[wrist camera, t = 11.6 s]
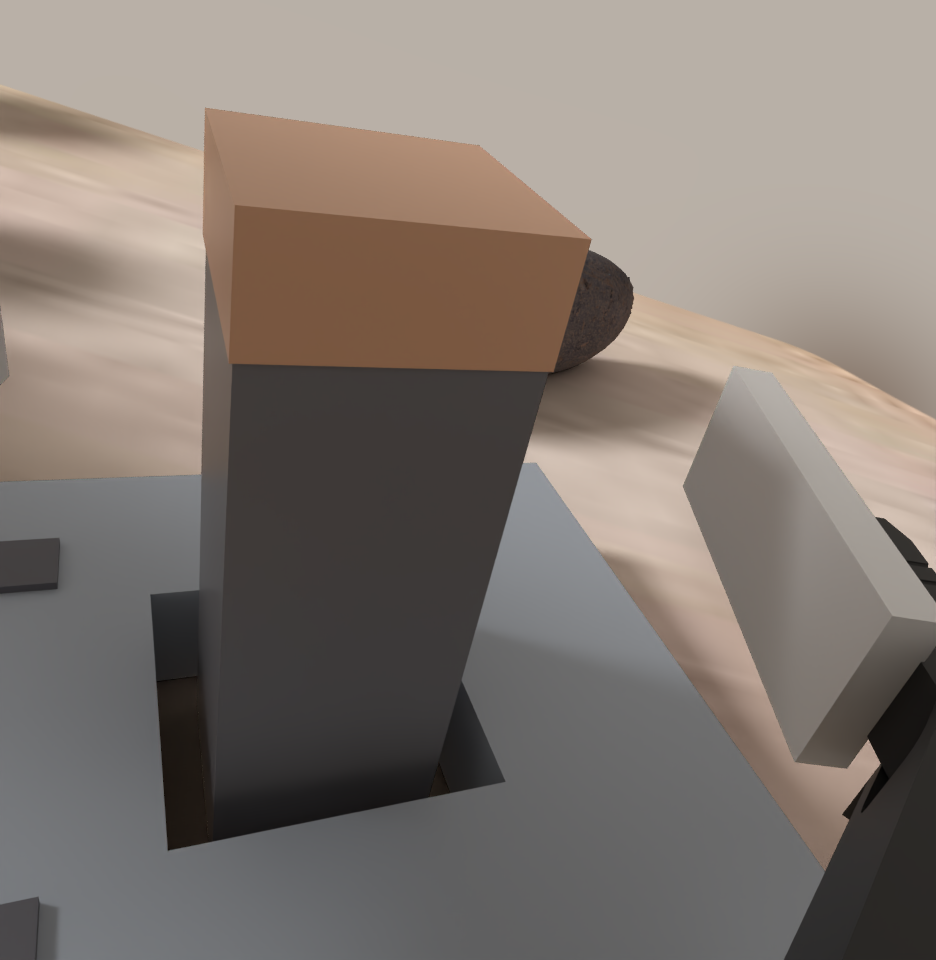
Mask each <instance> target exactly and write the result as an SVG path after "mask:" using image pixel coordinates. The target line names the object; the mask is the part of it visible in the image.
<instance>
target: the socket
mask: <svg viewBox="0 0 936 960" xmlns="http://www.w3.org/2000/svg"><path fill="white" fill-rule="evenodd" d="M200 523H201V475H178V476H149V477H121V478H93V479H65V480H36V481H8V482H0V960H784V958H785V956H786V954H787V952H788V950H789V948H790V945H791V943H792V941H793V939H794V937H795V935H796V933H797V930H798V928H799V926H800V924H801V922H802V920H803V918H804V916H805V913H806V911H807V909H808V907H809V905H810V903H811V901H812V899H813V896H814V894H815V892H816V890H817V888H818V886H819V884H820V882H821V879H822V877H823V875H824V873H825V871H824V869H823V868H822V866H821V865H820V864H819V862H818V861H817V859H816V858H815V857H814V855H813V854H812V852H811V851H810V849H809V848H808V847H807V845H806V844H805V842H804V841H803V840H802V838H801V837H800V835H799V834H798V833H797V831H796V830H795V828H794V827H793V825H792V824H791V823H790V821H789V820H788V818H787V817H786V816H785V814H784V813H783V811H782V810H781V808H780V807H779V806H778V804H777V803H776V801H775V800H774V799H773V797H772V796H771V794H770V793H769V792H768V790H767V789H766V787H765V786H764V784H763V783H762V782H761V780H760V779H759V777H758V776H757V775H756V773H755V772H754V770H753V769H752V767H751V766H750V765H749V763H748V762H747V760H746V759H745V758H744V756H743V755H742V753H741V752H740V750H739V749H738V748H737V746H736V745H735V743H734V742H733V741H732V739H731V738H730V736H729V735H728V734H727V732H726V731H725V729H724V728H723V726H722V725H721V724H720V722H719V721H718V719H717V718H716V717H715V715H714V714H713V712H712V711H711V709H710V708H709V707H708V705H707V704H706V702H705V701H704V700H703V698H702V697H701V695H700V694H699V693H698V691H697V690H696V688H695V687H694V685H693V684H692V683H691V681H690V680H689V678H688V677H687V676H686V674H685V673H684V671H683V670H682V668H681V667H680V666H679V664H678V663H677V661H676V660H675V659H674V657H673V656H672V654H671V653H670V651H669V650H668V649H667V647H666V646H665V644H664V643H663V642H662V640H661V639H660V637H659V636H658V635H657V633H656V632H655V630H654V629H653V627H652V626H651V625H650V623H649V622H648V620H647V619H646V618H645V616H644V615H643V613H642V612H641V610H640V609H639V608H638V606H637V605H636V603H635V602H634V601H633V599H632V598H631V596H630V595H629V594H628V592H627V591H626V589H625V588H624V586H623V585H622V584H621V582H620V581H619V579H618V578H617V577H616V575H615V574H614V572H613V571H612V569H611V568H610V567H609V565H608V564H607V562H606V561H605V560H604V558H603V557H602V555H601V554H600V552H599V551H598V550H597V548H596V547H595V545H594V544H593V543H592V541H591V540H590V538H589V537H588V536H587V534H586V533H585V531H584V530H583V528H582V527H581V526H580V524H579V523H578V521H577V520H576V519H575V517H574V516H573V514H572V513H571V511H570V510H569V509H568V507H567V506H566V504H565V503H564V502H563V500H562V499H561V497H560V496H559V495H558V493H557V492H556V490H555V489H554V487H553V486H552V485H551V483H550V482H549V480H548V479H547V478H546V476H545V475H544V473H543V472H542V470H541V469H540V468H539V466H538V465H537V463H523V465H522V468H521V472H520V475H519V479H518V482H517V486H516V489H515V493H514V496H513V500H512V503H511V507H510V510H509V514H508V518H507V521H506V525H505V528H504V532H503V535H502V539H501V542H500V546H499V549H498V553H497V556H496V560H495V564H494V567H493V571H492V574H491V578H490V581H489V585H488V588H487V592H486V595H485V599H484V602H483V606H482V609H481V613H480V617H479V620H478V624H477V627H476V631H475V634H474V638H473V641H472V645H471V648H470V652H469V655H468V659H467V662H466V666H465V670H464V673H463V677H462V680H461V684H460V687H459V691H458V694H457V698H456V701H455V705H454V708H453V712H452V715H451V719H450V723H449V726H448V730H447V733H446V737H445V740H444V744H443V747H442V751H441V754H440V758H439V764H440V766H441V769H442V772H443V774H444V777H445V780H446V783H447V785H448V788H449V791H450V793H449V794H444V795H439V796H434V797H429V798H425V799H420V800H415V801H410V802H405V803H400V804H395V805H390V806H385V807H380V808H375V809H371V810H366V811H361V812H356V813H351V814H346V815H341V816H336V817H331V818H326V819H321V820H317V821H312V822H307V823H302V824H297V825H292V826H287V827H282V828H277V829H272V830H267V831H263V832H258V833H253V834H248V835H243V836H238V837H233V838H228V839H223V840H218V841H213V842H209V843H204V844H199V845H194V846H189V847H184V848H179V849H174V850H169V851H168V848H167V833H166V819H165V804H164V789H163V774H162V759H161V744H160V730H159V715H158V700H157V685H156V681H161V680H169V679H177V678H185V677H193V676H198V625H199V574H200Z"/></svg>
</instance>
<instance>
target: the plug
mask: <svg viewBox="0 0 936 960" xmlns="http://www.w3.org/2000/svg"><path fill="white" fill-rule="evenodd" d="M204 137H205V138H204V193H203V238H204V243H205V248H206V267H205V318H204V370H203V421H202V472H201V523H200V574H199V625H198V677H197V713H198V726H199V738H200V750H201V762H202V774H203V786H204V798H205V810H206V822H207V834H208V843H209V842H213V841H218V840H223V839H228V838H233V837H238V836H243V835H248V834H253V833H258V832H263V831H267V830H272V829H277V828H282V827H287V826H292V825H297V824H302V823H307V822H312V821H317V820H321V819H326V818H331V817H336V816H341V815H346V814H351V813H356V812H361V811H366V810H371V809H375V808H380V807H385V806H390V805H395V804H400V803H405V802H410V801H415V800H420V799H425V798H428V797H429V793H430V790H431V786H432V783H433V779H434V776H435V772H436V769H437V765H438V761H439V758H440V754H441V751H442V747H443V744H444V740H445V737H446V733H447V730H448V726H449V723H450V719H451V715H452V712H453V708H454V705H455V701H456V698H457V694H458V691H459V687H460V684H461V680H462V677H463V673H464V670H465V666H466V662H467V659H468V655H469V652H470V648H471V645H472V641H473V638H474V634H475V631H476V627H477V624H478V620H479V617H480V613H481V609H482V606H483V602H484V599H485V595H486V592H487V588H488V585H489V581H490V578H491V574H492V571H493V567H494V564H495V560H496V556H497V553H498V549H499V546H500V542H501V539H502V535H503V532H504V528H505V525H506V521H507V518H508V514H509V510H510V507H511V503H512V500H513V496H514V493H515V489H516V486H517V482H518V479H519V475H520V472H521V468H522V465H523V461H524V457H525V454H526V450H527V447H528V443H529V440H530V436H531V433H532V429H533V426H534V422H535V419H536V415H537V412H538V408H539V404H540V401H541V397H542V394H543V390H544V387H545V383H546V380H547V376H548V373H549V372H554V369H555V365H556V362H557V358H558V355H559V351H560V348H561V344H562V341H563V337H564V334H565V330H566V327H567V323H568V320H569V316H570V313H571V309H572V306H573V302H574V299H575V295H576V292H577V288H578V285H579V281H580V278H581V274H582V271H583V267H584V264H585V260H586V257H587V253H588V250H589V246H590V243H591V238H589V237H588V236H587V235H586V234H585V233H583V232H582V231H581V230H580V229H579V228H577V227H576V226H575V225H574V224H573V223H571V222H570V221H569V220H568V219H566V218H565V217H564V216H563V215H562V214H561V213H559V212H558V211H557V210H556V209H555V208H553V207H552V206H551V205H550V204H549V203H547V202H546V201H545V200H544V199H543V198H541V197H540V196H539V195H538V194H536V193H535V192H534V191H533V190H532V189H531V188H529V187H528V186H527V185H526V184H525V183H523V182H522V181H521V180H520V179H519V178H517V177H516V176H515V175H514V174H513V173H511V172H510V171H509V170H508V169H507V168H505V167H504V166H503V165H502V164H501V163H499V162H498V161H497V160H496V159H495V158H493V157H492V156H491V155H490V154H489V153H487V152H486V151H485V150H484V149H483V148H481V147H480V146H479V145H472V144H464V143H457V142H449V141H443V140H435V139H428V138H420V137H414V136H406V135H399V134H391V133H385V132H377V131H370V130H362V129H355V128H348V127H341V126H334V125H326V124H319V123H312V122H304V121H297V120H290V119H283V118H275V117H268V116H261V115H254V114H246V113H238V112H232V111H225V110H217V109H210V108H205V136H204Z"/></svg>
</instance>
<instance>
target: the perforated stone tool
mask: <svg viewBox="0 0 936 960" xmlns="http://www.w3.org/2000/svg"><path fill="white" fill-rule="evenodd" d="M633 299H634V296H633V286H632V284H631V282H630V279H629V277H627V276H626V274H625V273H624V272H623V271H622V270H621V269H620V268H619V267H617V266H616V265H615V264H614V263H612V262H611V261H610V260H608V259H607V258H605V257H603V256H601V255H599V254H597V253H595V252H592V251H589V250H588V253H587V257H586V260H585V264H584V267H583V271H582V274H581V278H580V281H579V285H578V288H577V292H576V295H575V299H574V302H573V306H572V309H571V313H570V316H569V320H568V323H567V327H566V330H565V334H564V337H563V341H562V344H561V348H560V351H559V355H558V358H557V362H556V365H555V369H554V372H559V371H562V370H565V369H568V368H571V367H574V366H576V365H579V364H581V363H583V362H585V361H587V360H588V359H590V358H592V357H593V356H595V355H596V354H598V353H599V352H601V351H602V350H604V349H605V348H606V347H607V346H608V345H609V344H610V343H611V342H613V341H614V340H615V339H616V337H617V336H618V335H619V334H620V332H621V331H622V329H623V328H624V326H625V324H626V323H627V321H628V318H629V316H630V314H631V309H632V305H633ZM554 372H549V373H554ZM549 373H548V374H549Z"/></svg>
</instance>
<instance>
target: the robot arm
mask: <svg viewBox="0 0 936 960" xmlns="http://www.w3.org/2000/svg"><path fill="white" fill-rule="evenodd" d="M8 377H9V370H8V362H7V354H6V347H5V339H4V331H3V324H2V316H1V308H0V385H1V384H2V383H3V382H4V381H5V380H6V379H7V378H8ZM683 488H684V490H685V493H686V495H687V498H688V500H689V502H690V505H691V507H692V510H693V512H694V515H695V517H696V520H697V522H698V525H699V527H700V530H701V532H702V535H703V537H704V539H705V542H706V544H707V547H708V549H709V552H710V554H711V557H712V559H713V562H714V564H715V567H716V569H717V572H718V574H719V576H720V579H721V581H722V584H723V586H724V589H725V591H726V594H727V596H728V599H729V601H730V604H731V606H732V609H733V611H734V613H735V616H736V618H737V621H738V623H739V626H740V628H741V631H742V633H743V636H744V638H745V641H746V643H747V646H748V648H749V650H750V653H751V655H752V658H753V660H754V663H755V665H756V668H757V670H758V673H759V675H760V678H761V680H762V683H763V685H764V687H765V690H766V692H767V695H768V697H769V700H770V702H771V705H772V707H773V710H774V712H775V715H776V717H777V720H778V722H779V724H780V727H781V729H782V732H783V734H784V737H785V739H786V742H787V744H788V747H789V749H790V752H791V754H792V757H793V759H794V761H795V762H798V763H806V764H814V765H822V766H830V767H838V768H846V769H847V768H848V766H849V765H850V764H851V762H852V761H853V759H854V758H855V757H856V755H857V754H858V753H859V751H860V750H861V748H862V747H863V746H864V744H865V743H866V742H867V740H868V739H869V741H870V743H871V745H872V747H873V749H874V751H875V753H876V755H877V757H878V759H879V761H880V763H881V764H880V766H879V767H878V768H877V770H876V771H875V772H874V774H873V775H872V776H871V777H870V779H869V780H868V781H867V783H866V784H865V785H864V787H863V788H862V789H861V791H860V792H859V793H858V795H857V796H856V797H855V798H854V800H853V801H852V802H851V804H850V805H849V806H848V808H847V809H846V810H845V812H844V813H843V814H842V815H844V816H845V817H846V818H848V819H849V822H848V824H847V826H846V828H845V831H844V833H843V835H842V837H841V839H840V841H839V843H838V845H837V848H836V850H835V852H834V854H833V856H832V858H831V860H830V862H829V865H828V867H827V869H826V871H825V873H824V875H823V877H822V879H821V882H820V884H819V886H818V888H817V890H816V892H815V894H814V896H813V899H812V901H811V903H810V905H809V907H808V909H807V911H806V913H805V916H804V918H803V920H802V922H801V924H800V926H799V928H798V930H797V933H796V935H795V937H794V939H793V941H792V943H791V945H790V948H789V950H788V952H787V954H786V956H785V958H784V960H936V573H935V572H934V570H933V569H932V568H928V562H927V561H926V560H925V558H924V557H923V556H922V554H921V553H920V552H919V550H918V549H917V548H916V546H915V545H914V544H913V542H912V541H911V540H910V539H909V538H907V537H906V536H905V535H904V534H903V533H901V532H900V531H899V530H898V529H896V528H895V527H894V526H893V525H892V524H890V523H889V522H888V521H887V520H886V519H884V518H878V517H875V516H874V515H873V514H872V512H871V511H870V509H869V508H868V507H867V505H866V504H865V502H864V501H863V500H862V498H861V497H860V495H859V494H858V493H857V491H856V490H855V488H854V487H853V486H852V484H851V483H850V481H849V480H848V479H847V477H846V476H845V474H844V473H843V472H842V470H841V469H840V467H839V466H838V465H837V463H836V462H835V460H834V459H833V458H832V456H831V455H830V453H829V452H828V451H827V449H826V448H825V446H824V445H823V443H822V442H821V441H820V439H819V438H818V436H817V435H816V434H815V432H814V431H813V429H812V428H811V427H810V425H809V424H808V422H807V421H806V420H805V418H804V417H803V415H802V414H801V413H800V411H799V410H798V408H797V407H796V406H795V404H794V403H793V401H792V400H791V399H790V397H789V396H788V394H787V393H786V392H785V390H784V389H783V387H782V386H781V385H780V383H779V382H778V380H777V379H776V378H775V376H774V375H773V373H770V372H765V371H759V370H754V369H748V368H743V367H738V366H733V368H732V370H731V373H730V375H729V378H728V380H727V382H726V385H725V387H724V390H723V392H722V394H721V397H720V399H719V401H718V404H717V406H716V409H715V411H714V413H713V416H712V418H711V420H710V423H709V425H708V428H707V430H706V432H705V435H704V437H703V439H702V442H701V444H700V447H699V449H698V451H697V454H696V456H695V459H694V461H693V463H692V466H691V468H690V470H689V473H688V475H687V478H686V480H685V482H684V485H683Z"/></svg>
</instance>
